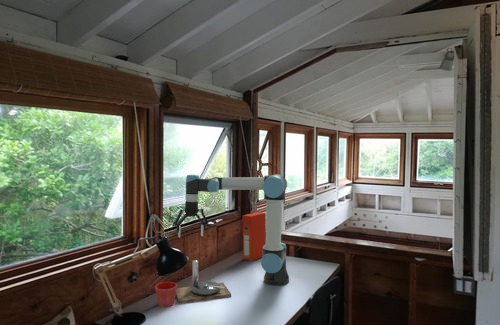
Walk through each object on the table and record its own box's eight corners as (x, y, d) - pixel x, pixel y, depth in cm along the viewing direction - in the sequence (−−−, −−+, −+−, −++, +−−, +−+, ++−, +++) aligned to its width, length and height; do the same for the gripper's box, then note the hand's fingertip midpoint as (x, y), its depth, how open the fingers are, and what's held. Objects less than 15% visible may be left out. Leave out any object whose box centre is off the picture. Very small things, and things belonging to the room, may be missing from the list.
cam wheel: (228, 286, 208) (227, 258, 208) (220, 297, 193) (219, 267, 192) (197, 283, 212) (196, 256, 211) (186, 294, 196) (186, 265, 196)
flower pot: (172, 309, 183) (171, 289, 183) (151, 307, 185) (151, 288, 185) (180, 300, 193) (180, 282, 193) (161, 299, 195) (160, 281, 195)
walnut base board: (223, 285, 215) (223, 282, 215) (231, 296, 198) (231, 293, 198) (174, 291, 206) (174, 288, 206) (178, 303, 189) (178, 300, 189)
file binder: (242, 259, 265) (242, 215, 264) (257, 253, 279) (257, 212, 277) (251, 261, 260) (251, 216, 259) (266, 255, 273) (265, 213, 272)
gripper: (210, 199, 225) (209, 233, 226) (169, 200, 216) (168, 235, 217) (213, 201, 218) (212, 236, 219) (171, 202, 209) (170, 239, 210)
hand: (190, 236), depth 218 cm, fingers open, 13 cm apart
